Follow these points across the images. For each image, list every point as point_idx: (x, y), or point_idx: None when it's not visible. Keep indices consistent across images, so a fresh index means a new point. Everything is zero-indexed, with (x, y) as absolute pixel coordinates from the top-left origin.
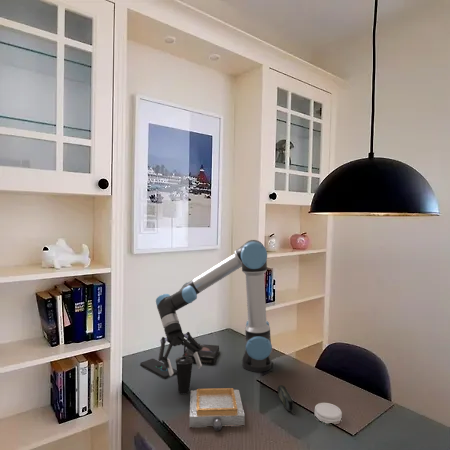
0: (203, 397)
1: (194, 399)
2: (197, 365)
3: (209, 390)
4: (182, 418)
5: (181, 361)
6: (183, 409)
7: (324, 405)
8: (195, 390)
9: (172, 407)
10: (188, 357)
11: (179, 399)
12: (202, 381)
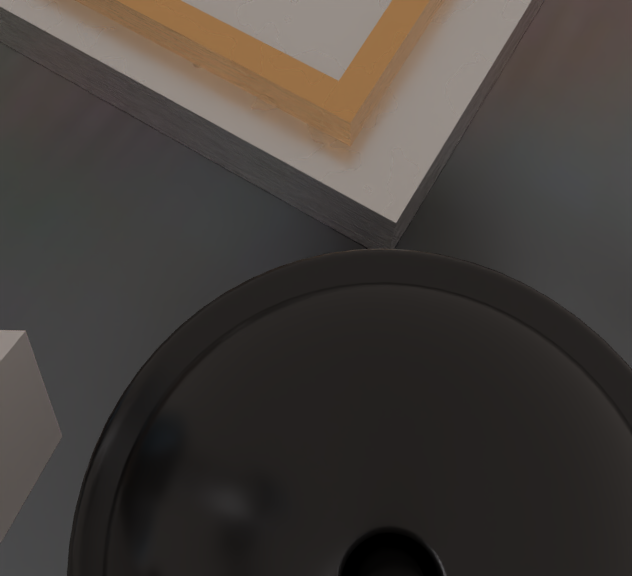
0: (341, 15)
1: (454, 30)
2: (29, 480)
3: (224, 28)
4: (602, 35)
5: (589, 432)
6: (532, 149)
7: None
8: (340, 190)
9: (623, 238)
10: (220, 537)
11: None
12: (33, 553)
